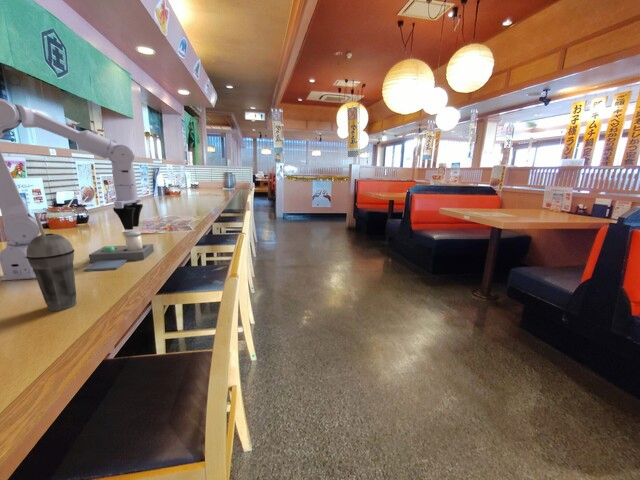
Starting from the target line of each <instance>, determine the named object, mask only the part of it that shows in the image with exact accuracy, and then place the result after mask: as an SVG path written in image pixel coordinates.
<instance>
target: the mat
mask: <svg viewBox="0 0 640 480" xmlns="http://www.w3.org/2000/svg"><path fill="white" fill-rule="evenodd" d="M127 262H129V260H128V259H121V260H103V261H97V262H93V263H92V264H91V265H89V266H87V267H86V268H84V272H97V271H110V270H111V271H113V270H118V269H119V268H120V267H122V266H123V265H125V263H127Z"/></svg>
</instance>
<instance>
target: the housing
mask: <svg viewBox="0 0 640 480" xmlns="http://www.w3.org/2000/svg"><path fill="white" fill-rule="evenodd" d="M113 246H114V248H115V250H114V251H103V248H104V247H107V246H103V247H100V248H99V249H96V250H95V251H94V252H91V253H90V254H89V253H88V260H89V263H92V264H94V263H95V262H97V261H103V260H121V259H128V261H142V260H143V261H144V260H146V259H147V258H148V257H150V255H152V254H153V253H154V252H155V248H154V244H151V243H150V244H142V246H143V249H142V250H137V251H127V246H126V244H125V245H113Z"/></svg>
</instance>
